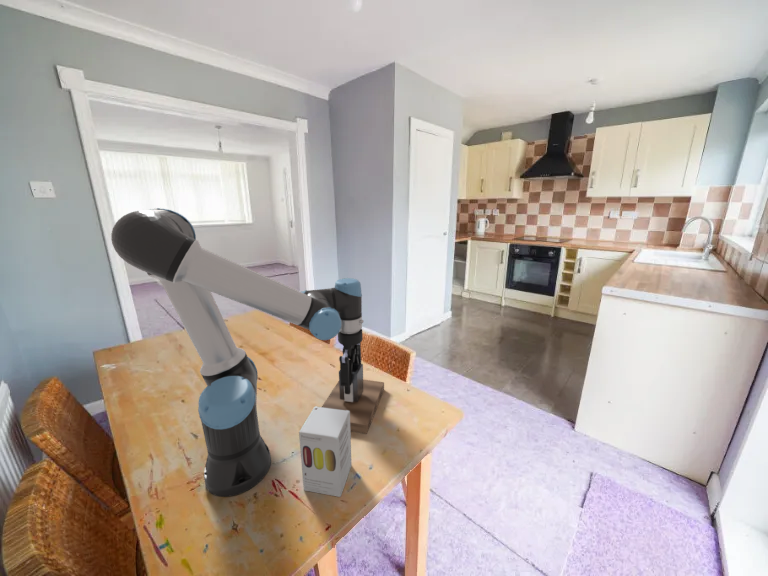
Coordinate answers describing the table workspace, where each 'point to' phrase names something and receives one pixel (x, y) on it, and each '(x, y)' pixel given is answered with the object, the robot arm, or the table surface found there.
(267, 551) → the table surface
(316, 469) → the supplement box
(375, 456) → the table surface
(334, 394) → the tang block
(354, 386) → the hollow square tube
